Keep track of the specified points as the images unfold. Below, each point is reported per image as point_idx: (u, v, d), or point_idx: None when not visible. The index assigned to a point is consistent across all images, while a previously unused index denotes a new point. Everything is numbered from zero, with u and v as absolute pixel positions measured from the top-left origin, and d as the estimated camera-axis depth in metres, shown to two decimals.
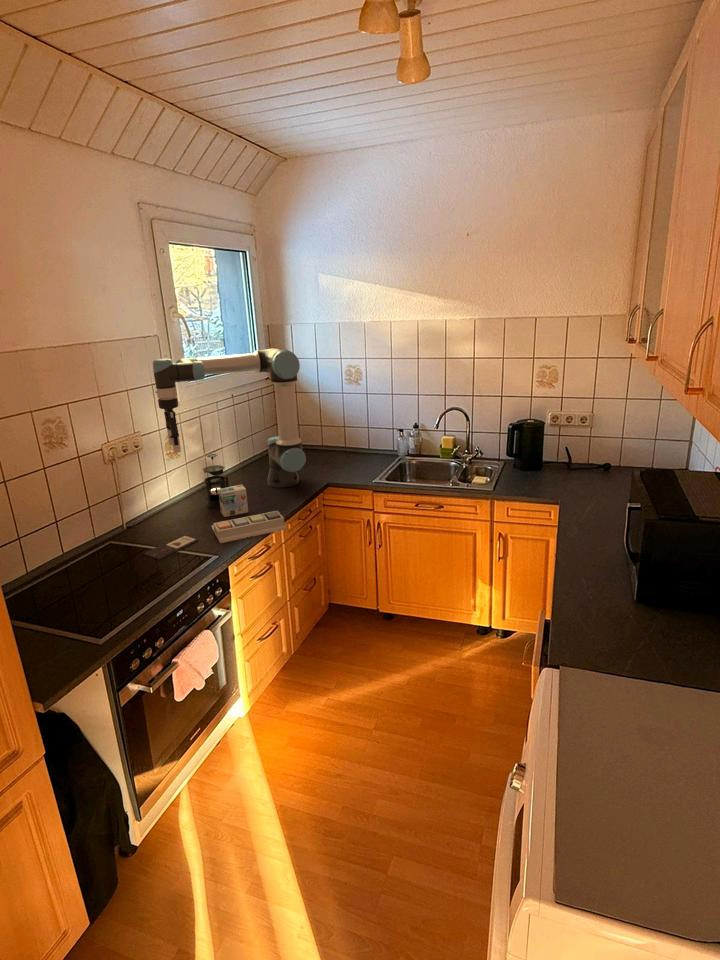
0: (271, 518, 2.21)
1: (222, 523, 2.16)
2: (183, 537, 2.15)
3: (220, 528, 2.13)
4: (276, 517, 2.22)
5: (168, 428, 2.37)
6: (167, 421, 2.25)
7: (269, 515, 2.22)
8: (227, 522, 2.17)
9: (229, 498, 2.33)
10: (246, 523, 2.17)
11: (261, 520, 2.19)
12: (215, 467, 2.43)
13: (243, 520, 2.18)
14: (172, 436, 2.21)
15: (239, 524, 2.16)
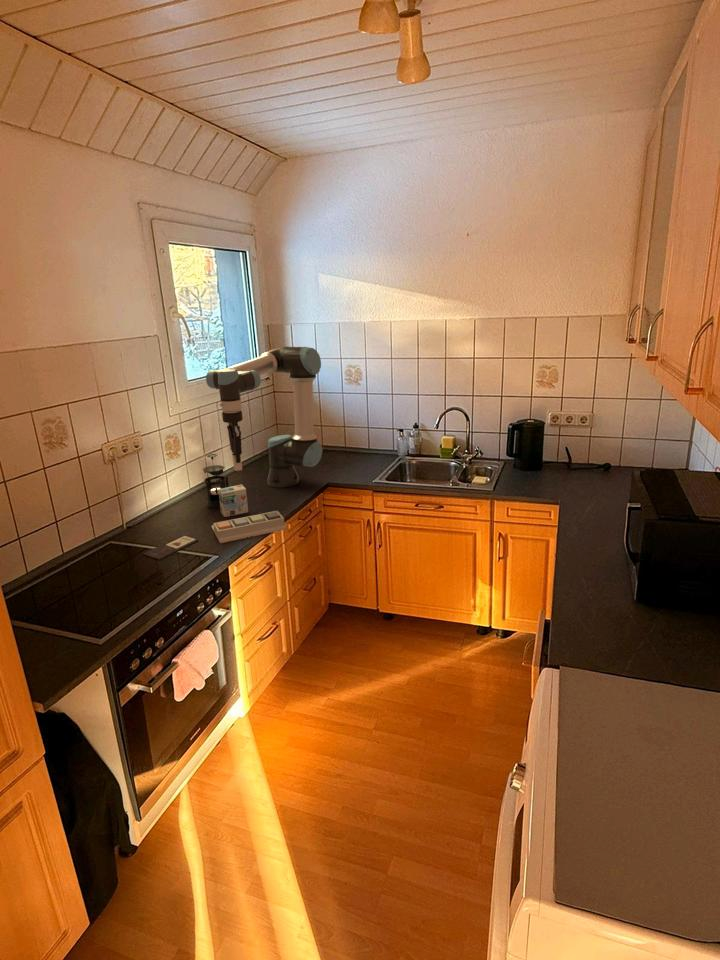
0: (271, 518, 2.21)
1: (222, 523, 2.16)
2: (183, 537, 2.15)
3: (220, 528, 2.13)
4: (276, 517, 2.22)
5: (233, 451, 2.20)
6: (231, 437, 2.15)
7: (269, 515, 2.22)
8: (227, 522, 2.17)
9: (229, 498, 2.33)
10: (246, 523, 2.17)
11: (261, 520, 2.19)
12: (215, 467, 2.43)
13: (243, 520, 2.18)
14: (235, 454, 2.15)
15: (239, 524, 2.16)
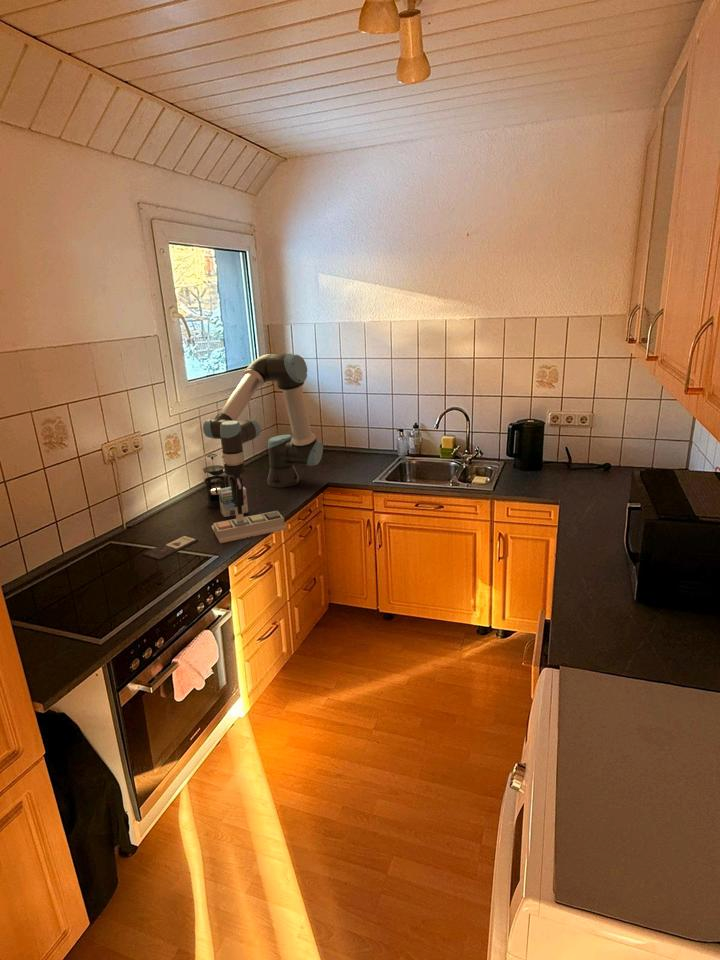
0: (271, 518, 2.21)
1: (222, 523, 2.16)
2: (183, 537, 2.15)
3: (220, 528, 2.13)
4: (276, 517, 2.22)
5: (236, 503, 2.16)
6: (233, 489, 2.11)
7: (269, 515, 2.22)
8: (227, 522, 2.17)
9: (229, 498, 2.33)
10: (246, 523, 2.17)
11: (261, 520, 2.19)
12: (215, 467, 2.43)
13: None
14: (237, 506, 2.12)
15: (239, 524, 2.16)
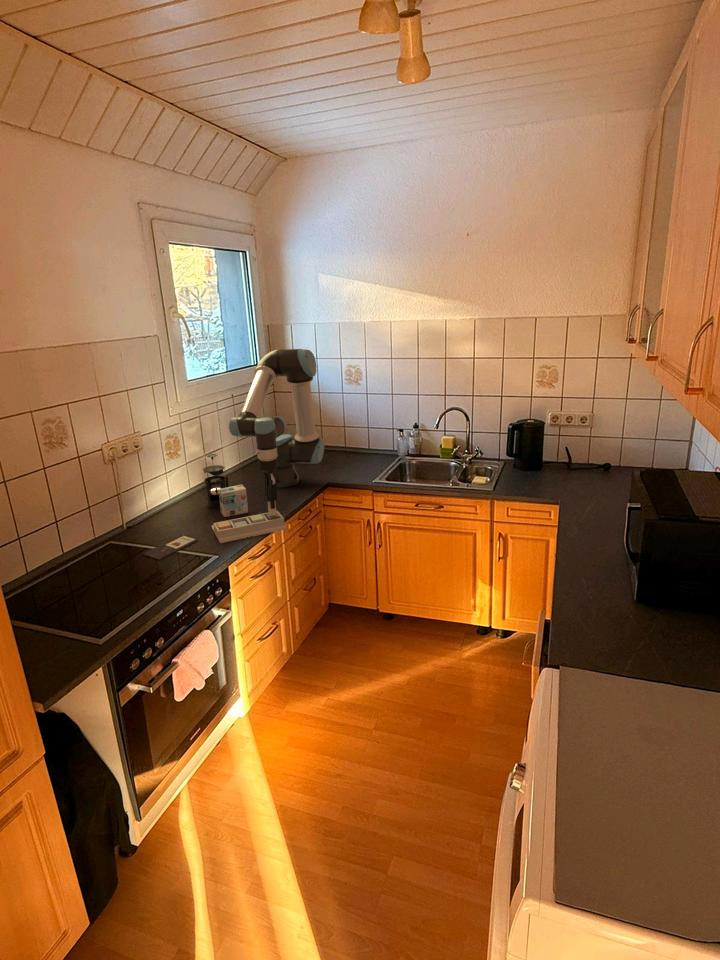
0: (271, 519, 2.21)
1: (222, 523, 2.16)
2: (182, 537, 2.15)
3: (220, 528, 2.13)
4: (276, 518, 2.22)
5: (268, 498, 2.21)
6: (266, 484, 2.17)
7: (269, 516, 2.22)
8: (227, 522, 2.17)
9: (229, 498, 2.33)
10: None
11: (261, 520, 2.19)
12: (215, 467, 2.43)
13: (243, 523, 2.19)
14: (270, 501, 2.17)
15: None
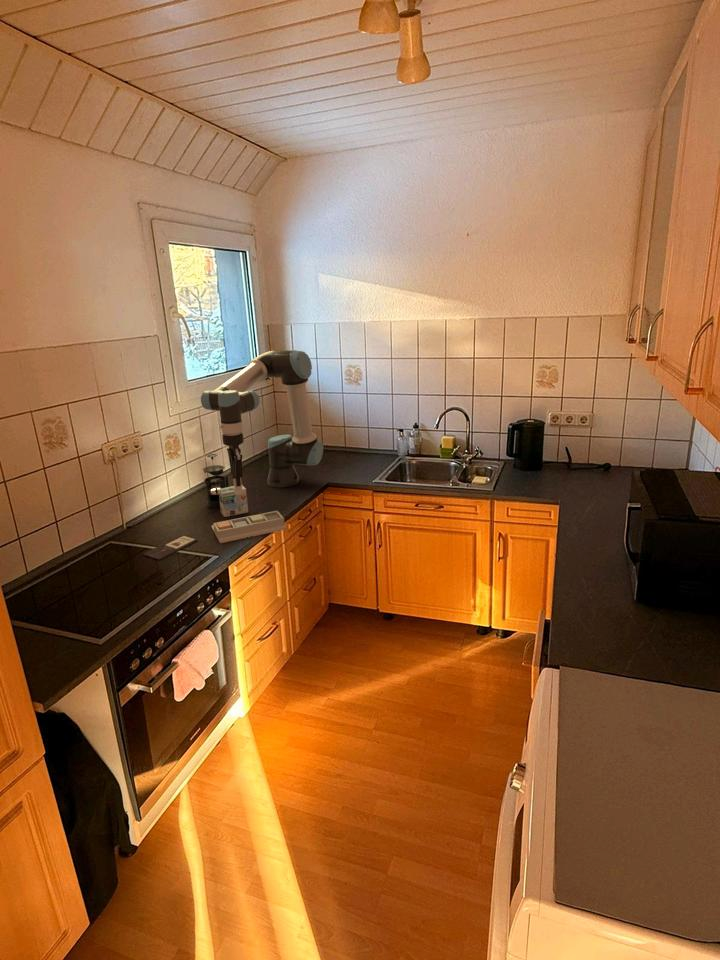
0: None
1: (222, 523, 2.16)
2: (182, 537, 2.15)
3: (220, 528, 2.13)
4: None
5: None
6: (231, 460, 2.08)
7: (269, 518, 2.23)
8: (227, 522, 2.17)
9: (229, 498, 2.33)
10: None
11: (261, 520, 2.19)
12: (215, 467, 2.43)
13: (243, 523, 2.19)
14: (235, 477, 2.08)
15: None
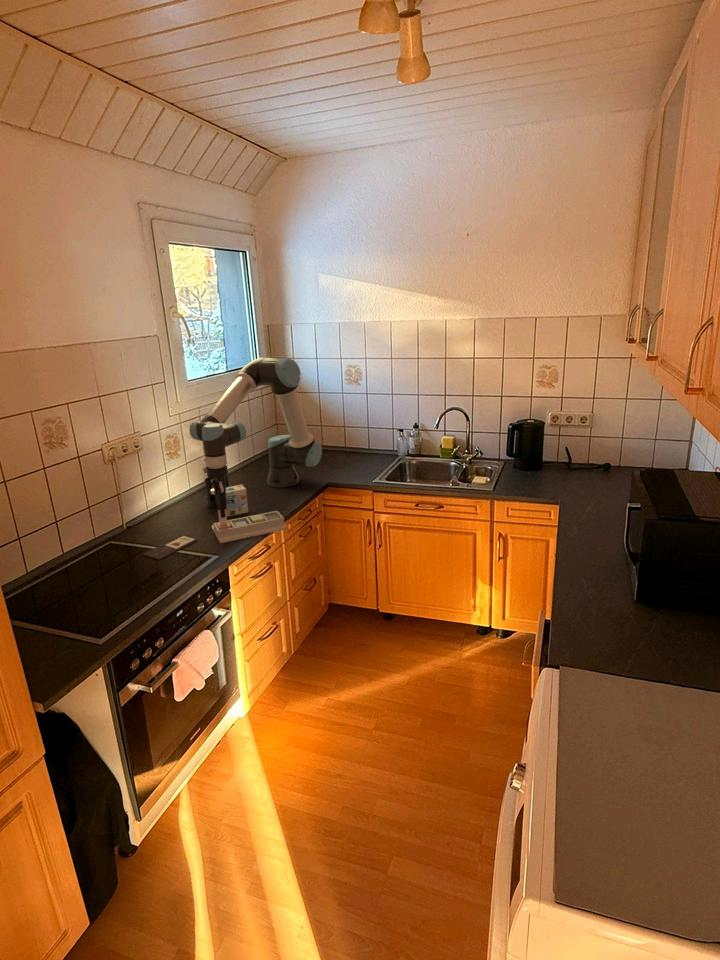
0: None
1: None
2: (182, 537, 2.15)
3: (220, 528, 2.13)
4: None
5: (219, 506, 2.13)
6: (215, 492, 2.09)
7: (269, 518, 2.23)
8: (227, 523, 2.17)
9: (229, 498, 2.33)
10: None
11: (261, 520, 2.19)
12: None
13: (243, 523, 2.19)
14: (219, 509, 2.10)
15: None
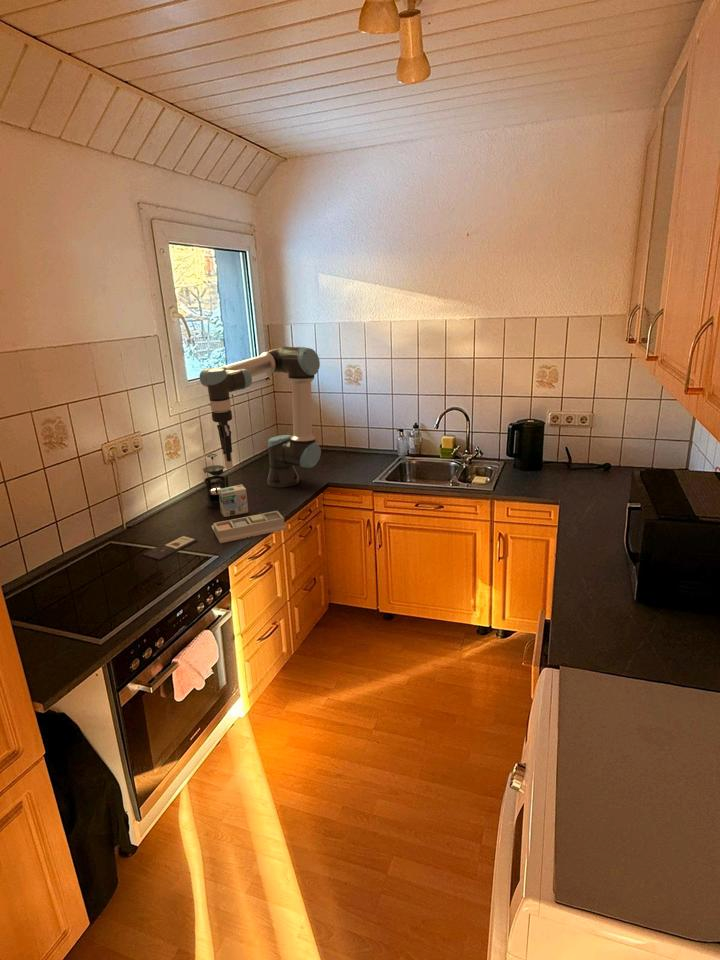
0: None
1: (222, 526, 2.16)
2: (182, 537, 2.15)
3: None
4: None
5: (224, 450, 2.21)
6: (221, 436, 2.17)
7: (269, 518, 2.23)
8: (227, 525, 2.17)
9: (229, 498, 2.33)
10: None
11: (261, 520, 2.19)
12: (215, 467, 2.43)
13: (243, 523, 2.19)
14: (225, 453, 2.18)
15: None
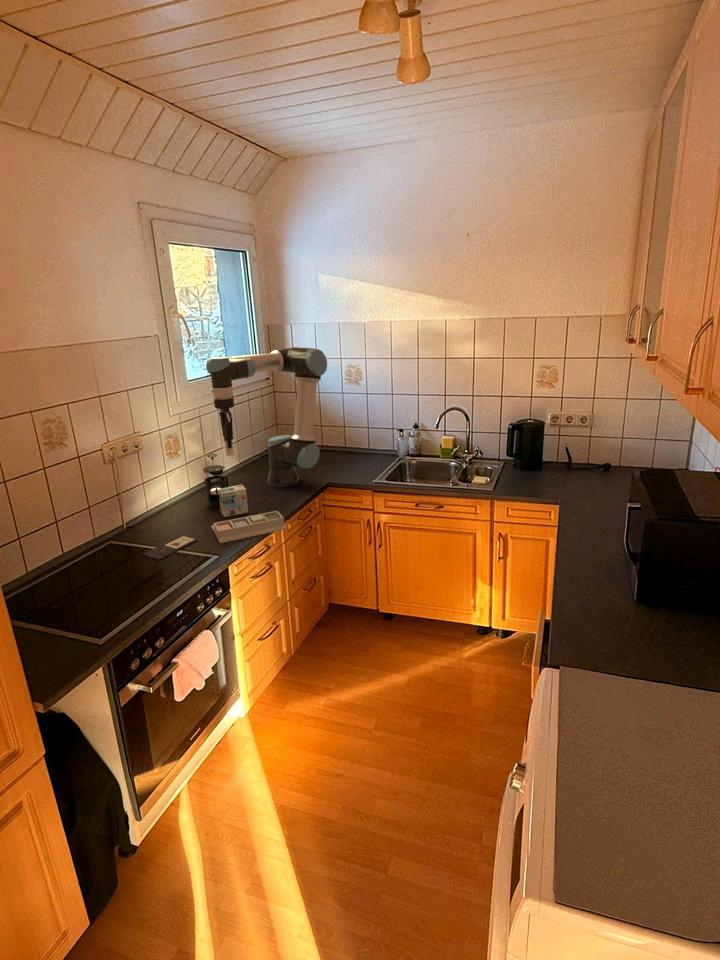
0: None
1: (222, 526, 2.16)
2: (182, 537, 2.15)
3: None
4: None
5: (225, 438, 2.25)
6: (222, 423, 2.20)
7: (269, 518, 2.23)
8: (227, 525, 2.17)
9: (229, 498, 2.33)
10: None
11: (261, 520, 2.19)
12: (215, 467, 2.43)
13: (243, 523, 2.19)
14: (226, 439, 2.21)
15: None
